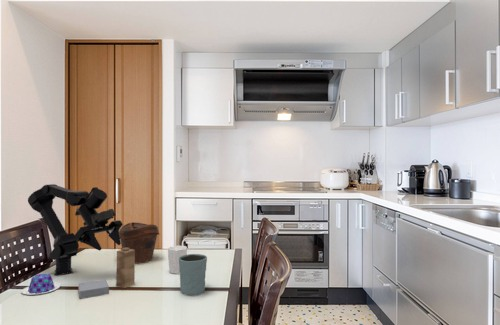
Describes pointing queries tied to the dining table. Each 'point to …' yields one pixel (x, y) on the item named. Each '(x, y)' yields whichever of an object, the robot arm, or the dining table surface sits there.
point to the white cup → (175, 257)
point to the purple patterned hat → (41, 284)
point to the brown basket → (139, 240)
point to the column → (125, 268)
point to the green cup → (192, 273)
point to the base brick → (93, 288)
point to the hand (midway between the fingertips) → (110, 247)
